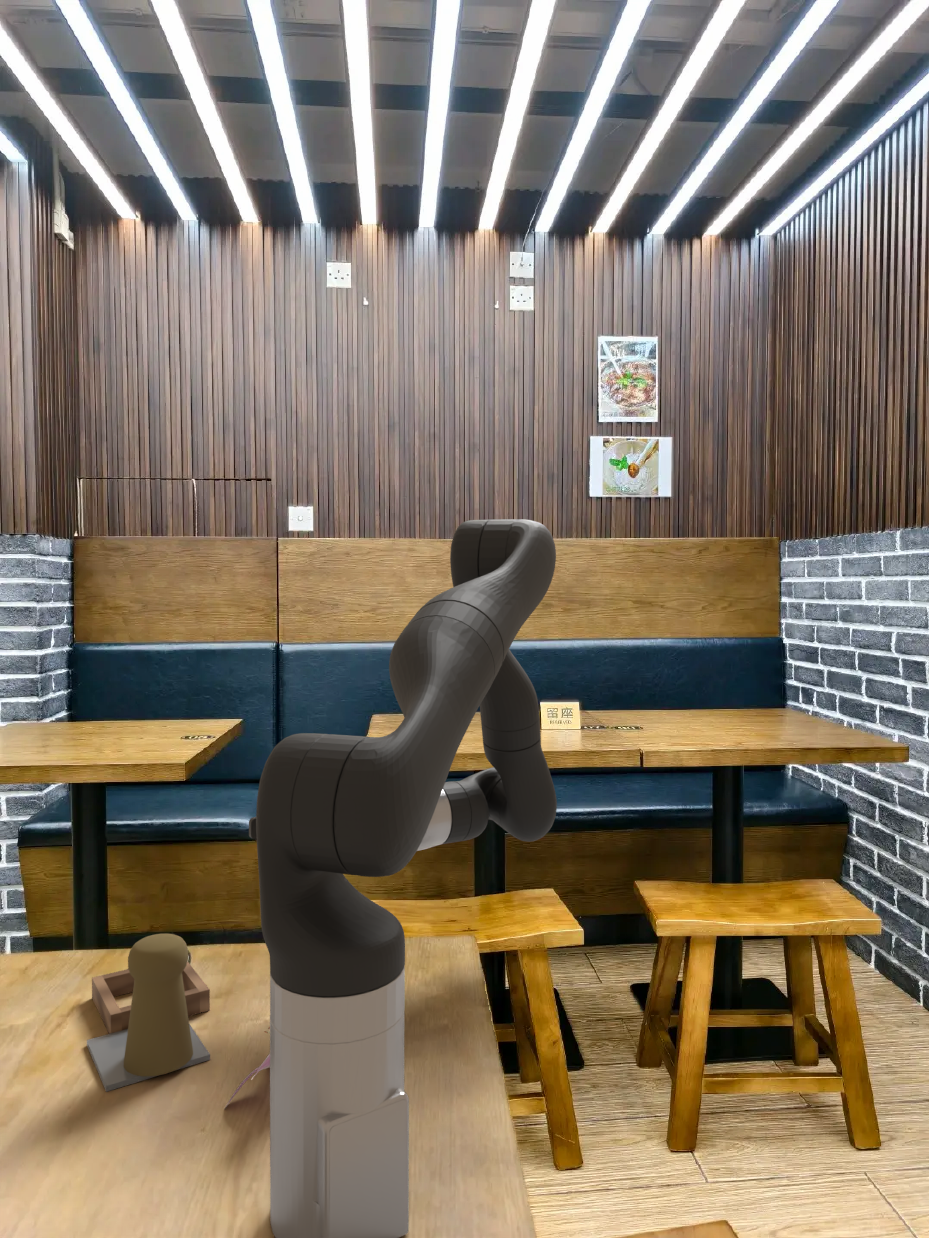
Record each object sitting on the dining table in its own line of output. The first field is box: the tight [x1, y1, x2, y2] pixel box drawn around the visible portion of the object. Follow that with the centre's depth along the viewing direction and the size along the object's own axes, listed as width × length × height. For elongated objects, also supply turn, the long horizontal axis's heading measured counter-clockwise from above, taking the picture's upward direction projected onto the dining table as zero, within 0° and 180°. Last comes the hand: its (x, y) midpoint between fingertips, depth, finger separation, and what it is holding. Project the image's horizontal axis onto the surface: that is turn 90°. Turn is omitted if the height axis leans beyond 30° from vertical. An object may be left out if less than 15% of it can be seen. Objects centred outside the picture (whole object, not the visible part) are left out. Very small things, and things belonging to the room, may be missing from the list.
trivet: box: [86, 1023, 211, 1092], centre depth 78 cm, size 9×9×1 cm
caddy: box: [91, 960, 211, 1034], centre depth 87 cm, size 10×10×2 cm
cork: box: [124, 933, 193, 1077], centre depth 76 cm, size 6×6×11 cm
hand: (264, 837), depth 85 cm, fingers open, 8 cm apart
